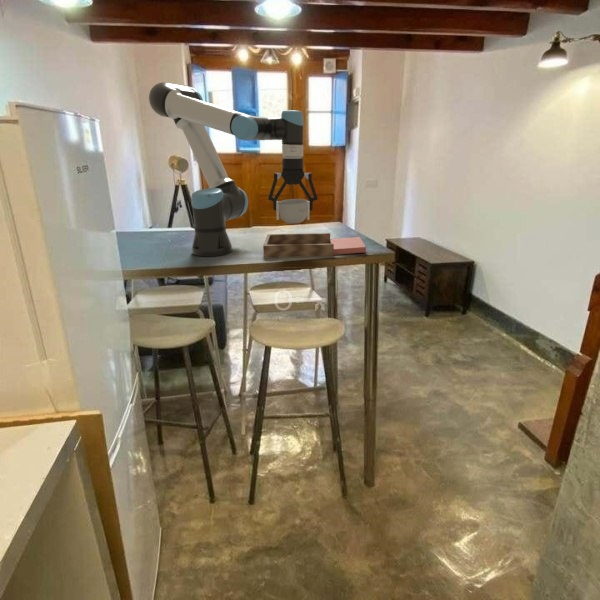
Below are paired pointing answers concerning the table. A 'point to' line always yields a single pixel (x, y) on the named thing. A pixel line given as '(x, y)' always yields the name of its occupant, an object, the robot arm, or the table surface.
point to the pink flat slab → (348, 245)
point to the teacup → (293, 210)
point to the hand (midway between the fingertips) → (293, 219)
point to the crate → (298, 245)
